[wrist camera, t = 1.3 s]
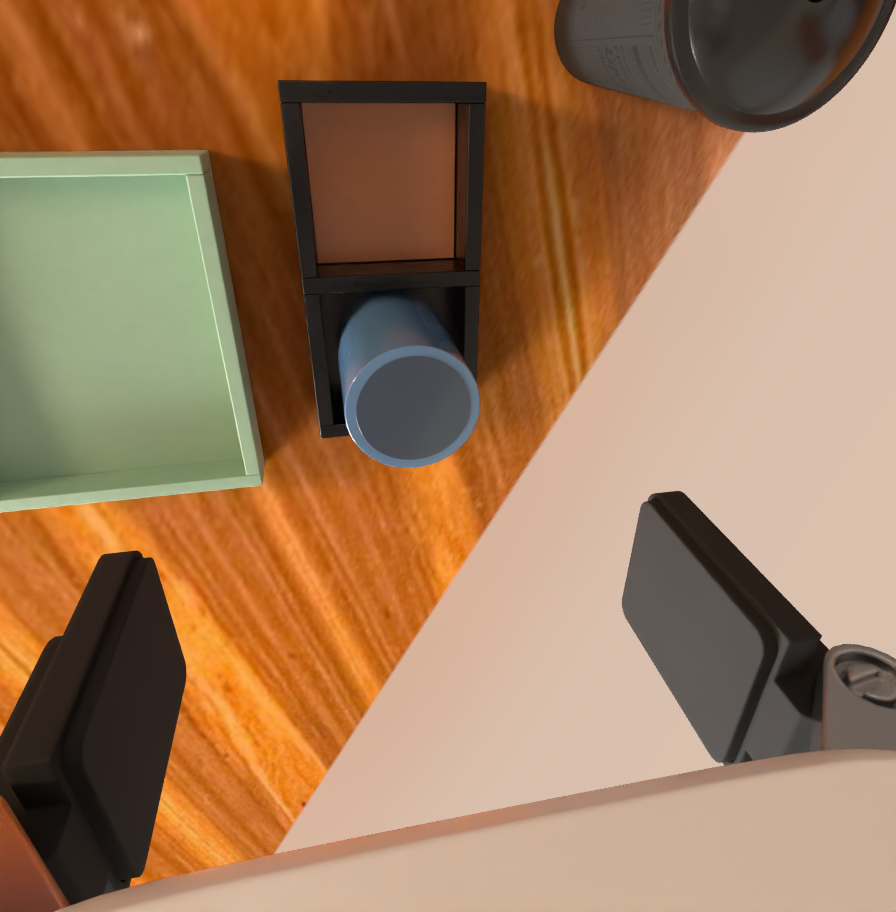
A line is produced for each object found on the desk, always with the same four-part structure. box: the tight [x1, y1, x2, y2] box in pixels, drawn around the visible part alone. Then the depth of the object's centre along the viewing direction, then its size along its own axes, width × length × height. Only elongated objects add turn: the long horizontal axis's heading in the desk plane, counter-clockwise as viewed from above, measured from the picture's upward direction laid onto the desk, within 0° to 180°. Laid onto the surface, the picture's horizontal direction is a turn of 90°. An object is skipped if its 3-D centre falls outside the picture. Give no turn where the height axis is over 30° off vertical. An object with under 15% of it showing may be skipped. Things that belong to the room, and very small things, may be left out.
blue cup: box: [336, 289, 480, 468], centre depth 31 cm, size 6×6×9 cm
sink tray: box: [0, 150, 265, 512], centre depth 31 cm, size 18×16×3 cm
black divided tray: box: [278, 80, 486, 438], centre depth 32 cm, size 17×9×3 cm, turn 0°
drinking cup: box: [554, 0, 896, 132], centre depth 21 cm, size 8×8×20 cm
